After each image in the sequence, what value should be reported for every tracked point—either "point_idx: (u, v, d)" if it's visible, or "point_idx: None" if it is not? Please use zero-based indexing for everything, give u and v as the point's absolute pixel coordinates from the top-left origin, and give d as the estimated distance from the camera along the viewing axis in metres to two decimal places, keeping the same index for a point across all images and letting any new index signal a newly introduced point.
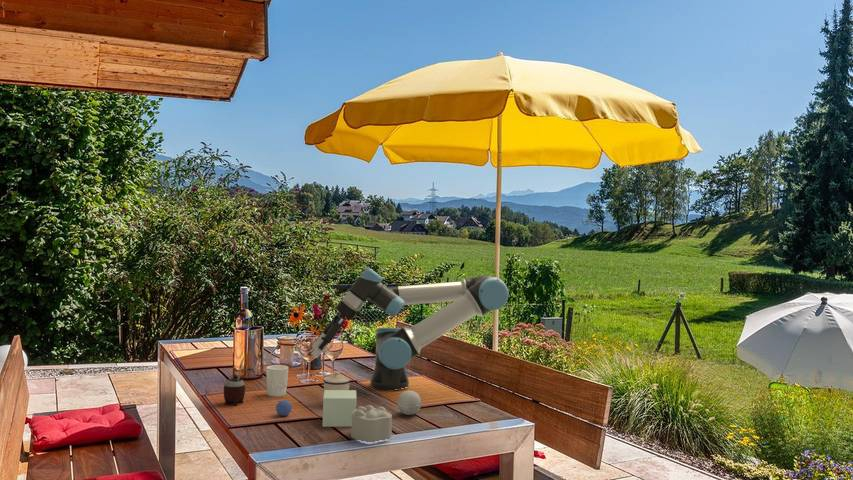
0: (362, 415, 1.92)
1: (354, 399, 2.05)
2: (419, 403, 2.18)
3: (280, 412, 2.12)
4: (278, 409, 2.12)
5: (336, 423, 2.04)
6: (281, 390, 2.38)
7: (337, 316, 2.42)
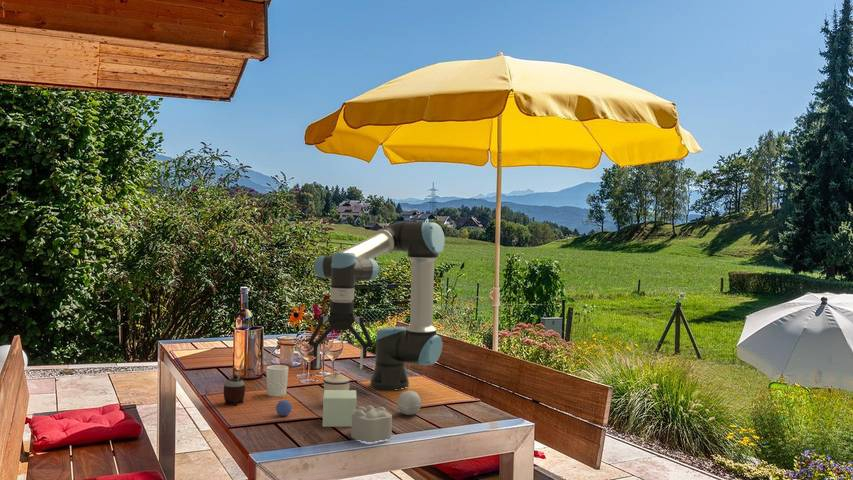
0: (362, 415, 1.92)
1: (354, 399, 2.05)
2: (419, 403, 2.18)
3: (280, 412, 2.12)
4: (278, 409, 2.12)
5: (336, 423, 2.04)
6: (281, 390, 2.38)
7: (339, 320, 2.08)
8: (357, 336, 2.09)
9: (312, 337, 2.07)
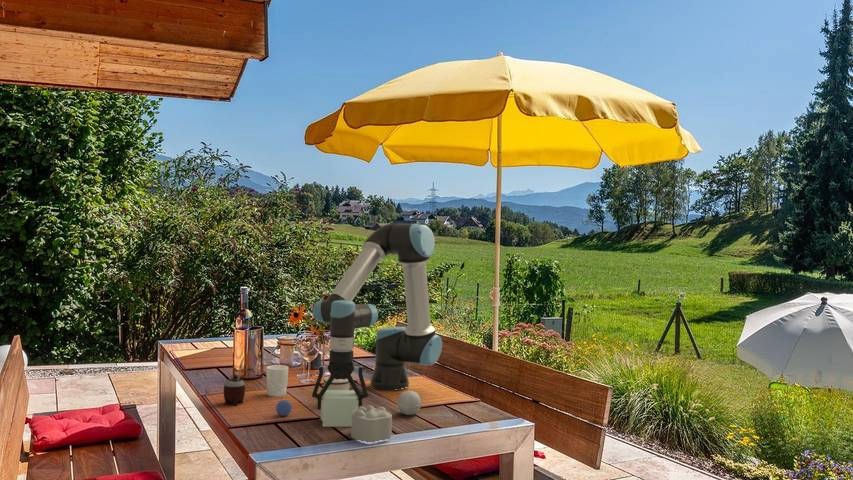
0: (362, 415, 1.92)
1: (354, 399, 2.05)
2: (419, 403, 2.18)
3: (280, 412, 2.12)
4: (278, 409, 2.12)
5: (336, 423, 2.04)
6: (281, 390, 2.38)
7: (338, 368, 2.08)
8: (354, 386, 2.09)
9: (315, 389, 2.07)
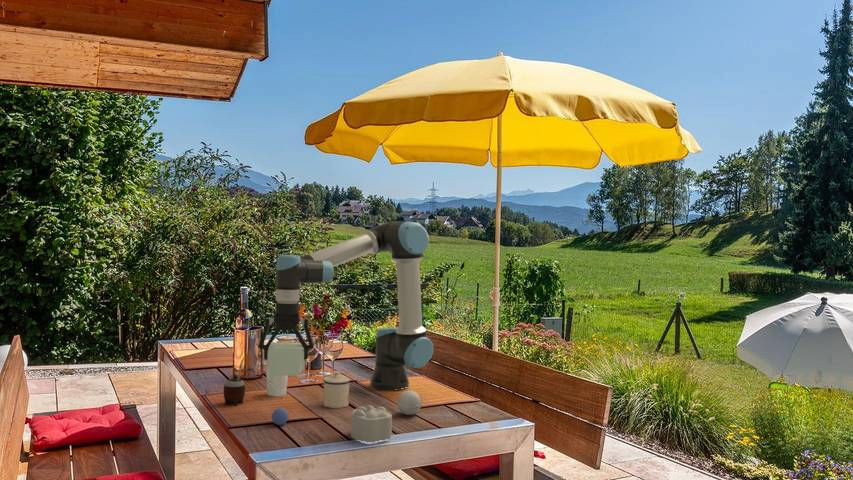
0: (362, 415, 1.92)
1: (299, 349, 2.11)
2: (419, 403, 2.18)
3: None
4: None
5: (281, 372, 2.11)
6: (281, 390, 2.38)
7: (284, 320, 2.14)
8: (300, 338, 2.15)
9: (261, 340, 2.14)
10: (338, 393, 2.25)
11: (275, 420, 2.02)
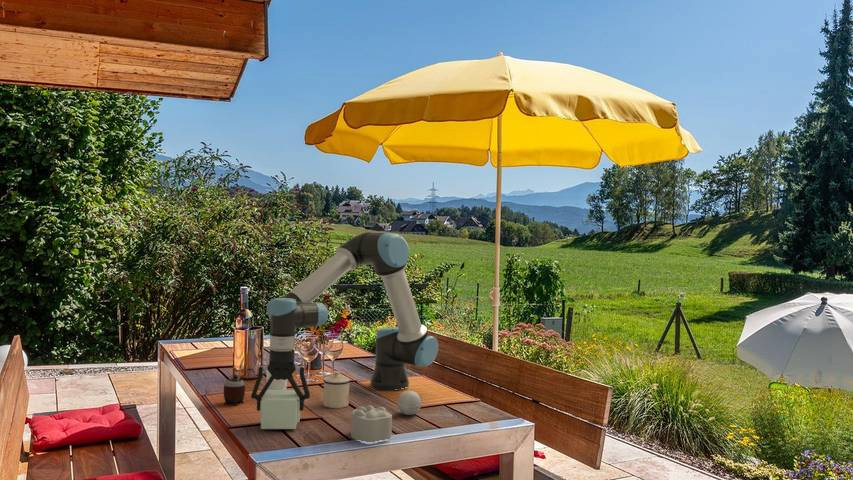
0: (362, 415, 1.92)
1: (294, 401, 1.97)
2: (419, 403, 2.18)
3: None
4: None
5: (275, 425, 1.97)
6: None
7: (278, 368, 2.01)
8: (295, 387, 2.01)
9: (254, 390, 2.00)
10: (338, 393, 2.25)
11: None
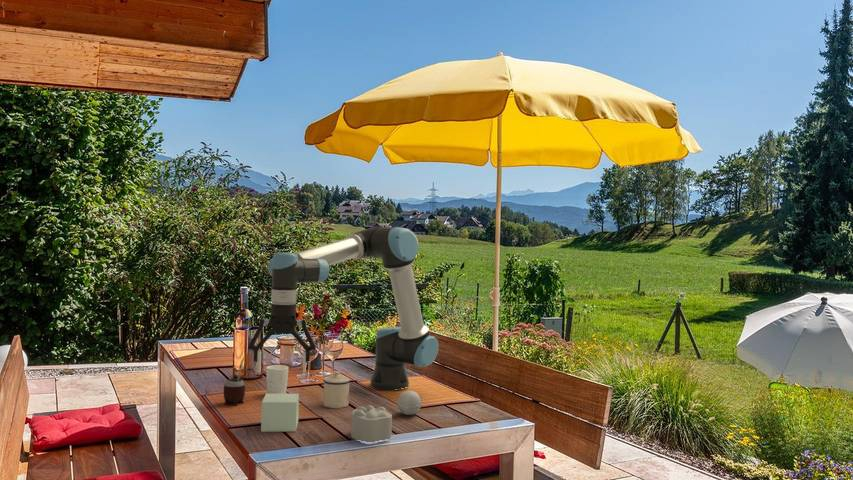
0: (362, 415, 1.92)
1: (294, 403, 1.98)
2: (419, 403, 2.18)
3: None
4: None
5: (275, 427, 1.97)
6: (281, 390, 2.38)
7: (280, 322, 2.00)
8: (299, 339, 2.01)
9: (252, 341, 2.00)
10: (338, 393, 2.25)
11: None
